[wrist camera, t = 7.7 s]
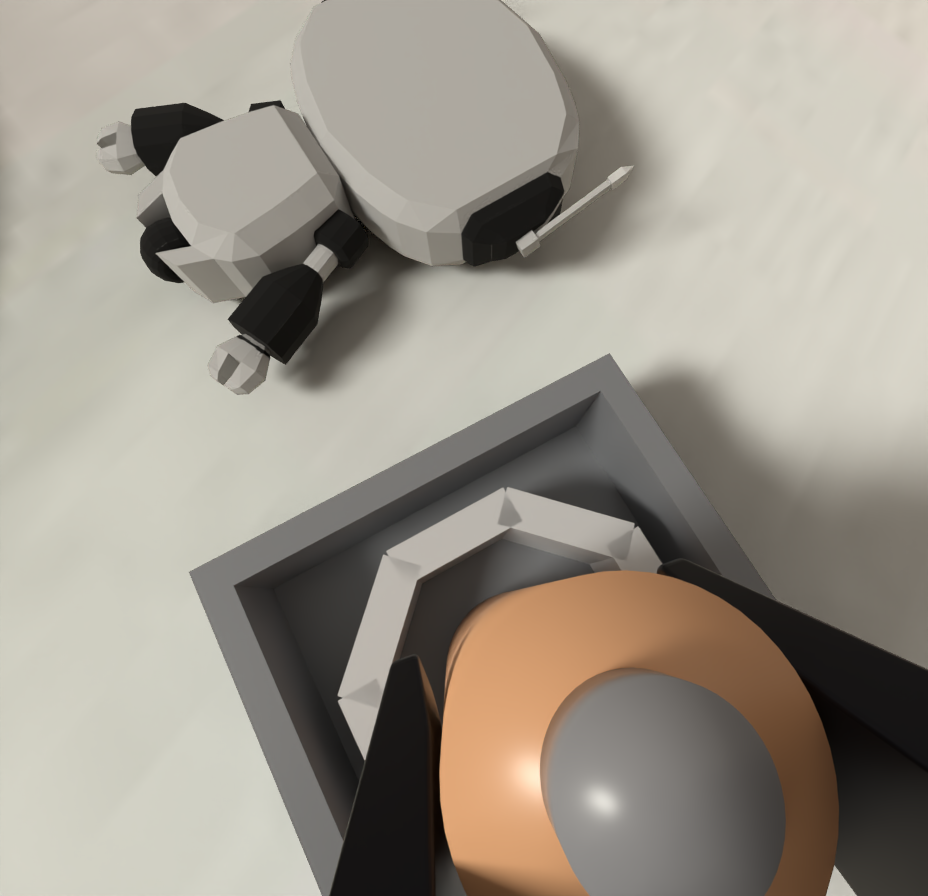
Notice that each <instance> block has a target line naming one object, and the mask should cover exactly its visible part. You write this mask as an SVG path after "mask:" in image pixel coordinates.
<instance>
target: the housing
mask: <svg viewBox="0 0 928 896" xmlns="http://www.w3.org/2000/svg"><path fill="white" fill-rule="evenodd" d="M679 558H682V559H686V560H688V561H691V562H693V563H695V564H697V565H699V566H702V567H704V568H706V569H708V570H710V571H713V572H715V573H717V574H719V575H721V576H724V577H726V578H728V579H730V580H732V581H734V582H737V583H739V584H741V585H743V586H745V587H748V588H750V589H752V590H754V591H756V592H759V593H761V594H763V595H765V596H767V597H770V598H772V599H774V600H776V599H775V598H774V596H773V595H772V593H771V592H770V590H769V589H768V587H767V586H766V584H765V583H764V581H763V580H762V578H761V577H760V575H759V574H758V572H757V571H756V569H755V568H754V566H753V565H752V563H751V562H750V561H749V559H748V558H747V556H746V555H745V553H744V552H743V550H742V549H741V547H740V546H739V544H738V543H737V541H736V540H735V538H734V537H733V535H732V534H731V532H730V531H729V529H728V528H727V526H726V525H725V524H724V522H723V521H722V519H721V518H720V516H719V515H718V513H717V512H716V510H715V509H714V507H713V506H712V504H711V503H710V501H709V500H708V498H707V497H706V495H705V494H704V492H703V491H702V489H701V488H700V487H699V485H698V484H697V482H696V481H695V479H694V478H693V476H692V475H691V473H690V472H689V470H688V469H687V467H686V466H685V464H684V463H683V461H682V460H681V458H680V457H679V455H678V454H677V452H676V451H675V449H674V448H673V447H672V445H671V444H670V442H669V441H668V439H667V438H666V436H665V435H664V433H663V432H662V430H661V429H660V427H659V426H658V424H657V423H656V421H655V420H654V418H653V417H652V415H651V414H650V412H649V411H648V410H647V408H646V407H645V405H644V404H643V402H642V401H641V399H640V398H639V396H638V395H637V393H636V392H635V390H634V389H633V387H632V386H631V384H630V383H629V381H628V380H627V378H626V377H625V375H624V374H623V372H622V371H621V370H620V368H619V367H618V365H617V364H616V362H615V361H614V359H613V358H612V356H611V355H610V353H609V354H607V355H605V356H603V357H602V358H600V359H598V360H596V361H594V362H592V363H590V364H588V365H586V366H584V367H582V368H580V369H578V370H577V371H575V372H573V373H571V374H569V375H567V376H565V377H563V378H561V379H559V380H557V381H555V382H553V383H552V384H550V385H548V386H546V387H544V388H542V389H540V390H538V391H536V392H534V393H532V394H530V395H528V396H527V397H525V398H523V399H521V400H519V401H517V402H515V403H513V404H511V405H509V406H507V407H505V408H503V409H502V410H500V411H498V412H496V413H494V414H492V415H490V416H488V417H486V418H484V419H482V420H480V421H478V422H477V423H475V424H473V425H471V426H469V427H467V428H465V429H463V430H461V431H459V432H457V433H455V434H453V435H452V436H450V437H448V438H446V439H444V440H442V441H440V442H438V443H436V444H434V445H432V446H430V447H428V448H427V449H425V450H423V451H421V452H419V453H417V454H415V455H413V456H411V457H409V458H407V459H405V460H403V461H401V462H400V463H398V464H396V465H394V466H392V467H390V468H388V469H386V470H384V471H382V472H380V473H378V474H376V475H375V476H373V477H371V478H369V479H367V480H365V481H363V482H361V483H359V484H357V485H355V486H353V487H351V488H350V489H348V490H346V491H344V492H342V493H340V494H338V495H336V496H334V497H332V498H330V499H328V500H326V501H325V502H323V503H321V504H319V505H317V506H315V507H313V508H311V509H309V510H307V511H305V512H303V513H301V514H300V515H298V516H296V517H294V518H292V519H290V520H288V521H286V522H284V523H282V524H280V525H278V526H276V527H275V528H273V529H271V530H269V531H267V532H265V533H263V534H261V535H259V536H257V537H255V538H253V539H251V540H250V541H248V542H246V543H244V544H242V545H240V546H238V547H236V548H234V549H232V550H230V551H228V552H226V553H225V554H223V555H221V556H219V557H217V558H215V559H213V560H211V561H209V562H207V563H205V564H203V565H201V566H200V567H198V568H196V569H194V570H192V571H190V572H189V573H190V576H191V578H192V581H193V583H194V586H195V588H196V590H197V593H198V595H199V598H200V600H201V603H202V605H203V607H204V610H205V612H206V615H207V617H208V620H209V622H210V624H211V627H212V629H213V632H214V634H215V637H216V639H217V641H218V644H219V646H220V649H221V651H222V654H223V656H224V658H225V661H226V663H227V666H228V668H229V671H230V673H231V675H232V678H233V680H234V683H235V685H236V688H237V690H238V692H239V695H240V697H241V700H242V702H243V705H244V707H245V709H246V712H247V714H248V717H249V719H250V722H251V724H252V726H253V729H254V731H255V734H256V736H257V739H258V741H259V743H260V746H261V748H262V751H263V753H264V756H265V758H266V760H267V763H268V765H269V768H270V770H271V773H272V775H273V777H274V780H275V782H276V785H277V787H278V790H279V792H280V794H281V797H282V799H283V802H284V804H285V807H286V809H287V811H288V814H289V816H290V819H291V821H292V824H293V826H294V828H295V831H296V833H297V836H298V838H299V841H300V843H301V845H302V848H303V850H304V853H305V855H306V858H307V860H308V862H309V865H310V867H311V870H312V872H313V875H314V877H315V879H316V882H317V884H318V887H319V889H320V892H321V894H322V896H329V893H330V889H331V885H332V882H333V878H334V874H335V870H336V867H337V863H338V859H339V855H340V852H341V848H342V844H343V841H344V837H345V833H346V829H347V826H348V822H349V818H350V814H351V811H352V807H353V803H354V800H355V796H356V792H357V788H358V785H359V781H360V777H361V773H362V770H363V766H364V762H365V759H366V755H367V751H368V747H369V744H370V740H371V736H372V732H373V729H374V725H375V721H376V718H377V714H378V710H379V706H380V703H381V699H382V695H383V691H384V688H385V684H386V680H387V677H388V673H389V669H390V666H391V664H392V663H393V662H394V661H396V660H399V659H401V658H404V657H407V656H410V655H413V654H415V655H418V656H419V658H420V660H421V663H422V665H423V668H424V670H425V673H426V676H427V678H428V681H429V683H430V686H431V689H432V692H433V695H434V698H435V702H436V705H437V709H438V713H439V716H440V720H441V724H442V725H443V709H444V694H445V678H446V664H447V655H448V650H449V646H450V643H451V640H452V637H453V635H454V633H455V631H456V629H457V627H458V626H459V624H460V623H461V621H462V620H463V619H464V617H465V616H466V615H467V614H468V613H469V612H470V611H471V610H472V609H473V608H474V607H475V606H477V605H478V604H480V603H481V602H483V601H484V600H486V599H488V598H490V597H492V596H495V595H498V594H501V593H505V592H510V591H514V590H518V589H523V588H527V587H532V586H536V585H541V584H545V583H550V582H554V581H559V580H563V579H568V578H572V577H577V576H581V575H587V574H592V573H597V572H603V571H622V570H629V571H640V572H651V573H655V574H657V568H658V567H659V566H660V565H661V564H664V563H667V562H670V561H672V560H675V559H679Z"/></svg>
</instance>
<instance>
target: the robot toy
mask: <svg viewBox="0 0 928 896" xmlns="http://www.w3.org/2000/svg"><path fill="white" fill-rule="evenodd" d="M290 67H291V78H292V82H293V86H294V91H295V95H296V99H297V103H298V105H299V108H300V110H301V113H302V115H303V118H304V121H305V123H306V125H305V123H304V122H303V120H302V119H301V117H300V116H299V114H297V113H294V112H292V111H289V110H286V109H285V108H284V106H283V104H282V102H281V100H280V101H272V102H264V103H256V104H251V106H250V109H249V112H248V113H245V114H242V115H239V116H236V117H233V118H230V119H228V120H225V121H224V120H222V119H220V118H218V117H216V116H214V115H212V114H210V113H208V112H206V111H203V110H201V109H198V108H196V107H194V106H191V105H189V104H187V103H180V104H172V105H164V106H156V107H148V108H140V109H135V111H134V113H133V115H132V117H131V125H128V124H125V123H122V122H116V123H114V124H111V125H108V126H106V127H103V128H101V130H100V132H99V134H98V136H97V144H98V145H99V146H100V147H101V148H102V149H99V150H96V158H97V160H98V161H99V163H100V164H101V166H102V167H103V168H104V169H105V170H107V171H109V172H111V173H116V174H126V175H132V174H133V173H135V172H136V171H138V170H139V169H141V168H142V167H144V166H146V167H147V169H148V170H149V171H151V172H152V173H153V174H154V175H155V176H156V178H155V179H154V180H153V181H152V182H151V183H150V184H149V185H148V186H147V187H145V188H144V189H143V190H142V191H141V192H140V193H139V195H138V208H137V219H138V220H139V221H140V222H141V223H142V224H143V225H144V226H145V227H146V229H145V231H144V233H143V235H142V236H141V239H140V253H141V256H142V259H143V260H144V262H145V263H146V265H147V267H148V268H149V269H150V271H151V272H152V273H153V274H155V275H156V276H158V277H160V278H161V279H163V280H165V281H170V282H175V283H183V282H185V283H186V284H187V285H188V286H189V287H190V288H191V289H192V290H193V291H194V292H196V293H197V294H199V295H201V296H202V297H204V298H206V299H207V300H209V301H211V302H213V303H216V302H222V301H227V300H232V299H237V298H242V297H245V299H244V300H243V301H242V302H241V304H240V305H239V306H238V307H237V308H236V310H235V311H234V312H233V313H232V315H231V316H230V317H229V318H228V320H229V321H230V323H231V324H232V325H233V326H234V328H235V329H237V330H238V331H239V332H240V333H241V334H242V335H238V336H236V337H234V338H232V339H230V340H228V341H226V342H224V343H222V344H220V345H218V346H217V347H216V349H215V351H214V353H213V355H212V357H211V359H210V361H209V363H208V369H209V373H210V376H211V377H212V378H214V379H215V380H216V381H218V382H219V383H221V384H222V385H224V384H225V383H226V382H227V383H226V384H225V385H224V386H226V387H227V388H228V389H230V390H231V391H233V392H234V393H236V394H237V395H240V394H250V393H251V392H252V391H253V390H254V389H256V388H257V387H258V386H259V385H260V384H262V383H263V382H264V381H265V379H266V375H267V370H268V366H269V361H270V356H272V357H273V358H275V359H277V360H278V361H280V362H282V363H283V364H285V365H286V364H287V362H288V361H289V360H290V359H291V357H292V356H293V355H294V353H295V352H296V351H297V350H298V348H299V347H300V346H301V344H302V343H303V342H304V341H305V339H306V338H307V337H308V335H309V334H310V333H311V332H312V330H313V329H314V328H315V326H316V325H317V323H318V317H319V311H320V306H321V300H322V291H323V282H324V281H325V280H326V279H327V277H328V276H329V275H330V273H331V272H332V271H333V270H334V268H335V267H336V266H337V265H339V266H341V267H345V268H351V267H352V266H353V265H354V263H355V262H356V261H357V259H358V258H359V257H360V256H361V254H362V253H363V252H364V250H365V249H366V248H367V247H368V237H367V235H366V233H365V231H364V229H363V228H362V226H361V224H360V223H359V222H357V221H356V220H355V219H354V216H353V213H354V214H355V215H356V216H357V217H358V218H359V219H360V221H361V222H362V223H363V224H364V225H365V226H366V227H367V228H368V229H369V230H370V231H371V232H372V233H374V234H375V235H376V236H377V237H378V238H380V239H381V240H382V241H383V242H385V243H386V244H387V245H388V246H389V247H391V248H392V249H394V250H395V251H397V252H399V253H400V254H402V255H403V256H405V257H408V258H411V259H414V260H416V261H419V262H422V263H425V264H428V265H430V266H444V265H461V264H463V263H465V262H467V263H469V264H470V265H472V266H477V265H480V264H484V263H487V262H490V261H495V260H501V259H506V258H508V257H509V256H511V255H513V254H515V253H517V252H518V251H520V253H521V254H522V255H523V257H524V258H525V257H527V256H528V255H529V254H531V253H532V252H533V251H535V250H536V249H537V248H539V247H540V243H539V242H540V241H541V240H542V239H544V238H545V237H546V236H548V235H549V234H551V233H552V232H553V231H555V230H556V229H557V228H559V227H560V226H561V225H563V224H564V223H565V222H567V221H568V220H570V219H571V218H572V217H574V216H575V215H576V214H578V213H579V212H580V211H582V210H583V209H584V208H586V207H587V206H589V205H590V204H591V203H593V202H594V201H595V200H597V199H598V198H599V197H601V196H602V195H603V194H605V193H606V192H608V191H609V190H610V189H612V190H614V189H615V188H616V187H618V186H619V185H620V184H622V183H623V182H624V181H626V179H627V178H628V176H629V174H630V172H631V171H632V169H633V167H634V166H624V167H620V168H619V169H617V170H616V171H615V172H613V173H612V174H611V175H609V176H608V177H607V180H606V181H605V182H603V183H602V184H601V185H599V186H598V187H597V188H595V189H594V190H592V191H591V192H590V193H588V194H587V195H586V196H584V197H583V198H582V199H580V200H579V201H578V202H576V203H575V204H574V205H572V206H571V207H570V208H568V209H567V210H566V211H564V212H563V213H561V214H560V211H561V206H562V201H563V197H564V196H565V194H566V193H567V192H568V190H569V189H570V185H571V181H572V176H573V171H574V166H575V162H576V157H577V152H578V146H579V116H578V112H577V108H576V104H575V102H574V99H573V97H572V94H571V92H570V89H569V87H568V84H567V81H566V79H565V77H564V76H563V74H562V72H561V70H560V69H559V67H558V65H557V63H556V62H555V60H554V58H553V56H552V55H551V53H550V51H549V49H548V48H547V46H546V44H545V42H544V41H543V39H542V37H541V35H540V34H539V33H538V32H537V31H536V30H535V29H533V28H532V27H531V26H530V25H529V24H528V23H527V22H525V21H524V20H523V19H522V18H521V17H520V16H518V15H517V14H516V13H515V12H514V11H513V10H512V9H510V8H509V7H508V6H507V5H506V4H505V3H504V2H502V1H501V0H324V1H322V2H321V3H320V4H318V5H316V6H314V7H313V9H312V10H311V12H310V14H309V16H308V17H307V19H306V21H305V22H304V24H303V26H302V28H301V29H300V31H299V33H298V35H297V36H296V38H295V41H294V46H293V52H292V57H291V62H290ZM352 212H353V213H352ZM229 378H230V379H229ZM228 379H229V380H228ZM227 380H228V381H227Z"/></svg>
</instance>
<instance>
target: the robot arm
mask: <svg viewBox="0 0 928 896" xmlns="http://www.w3.org/2000/svg"><path fill="white" fill-rule="evenodd" d="M657 574H660V575H664V576H669V577H673V578H676V579H679V580H682V581H685V582H687V583H690V584H693V585H696V586H698V587H700V588H702V589H704V590H706V591H708V592H710V593H712V594H714V595H716V596H718V597H720V598H721V599H723V600H724V601H726V602H727V603H729V604H730V605H732V606H733V607H735V608H736V609H738V610H739V611H741V612H742V613H743V614H744V615H745V616H746V617H748V618H749V619H750V620H751V621H752V622H753V623H755V624H756V625H757V626H758V627H759V628H761V630H762V631H763V632H764V633H765V634H766V635H767V636H768V637H769V638H770V639H771V640H772V641H773V642H774V643H775V644H776V646H777V647H778V648H779V649H780V650H781V652H782V653H783V654H784V656H785V657H786V658H787V660H788V661H789V662H790V664H791V665H792V666H793V668H794V669H795V670H796V672H797V674H798V676H799V677H800V679H801V681H802V682H803V684H804V686H805V687H806V689H807V691H808V693H809V694H810V696H811V699H812V701H813V703H814V705H815V708H816V710H817V712H818V714H819V716H820V719H821V721H822V724H823V727H824V730H825V733H826V736H827V740H828V743H829V746H830V749H831V754H832V759H833V764H834V768H835V773H836V780H837V790H838V801H839V826H838V841H837V848H836V855H835V862H834V865H835V866H836V868H837V869H838V870H839V872H840V873H841V875H842V876H843V877H844V879H845V880H846V881H847V883H848V884H849V885H850V887H851V888H852V889H853V891H854V892H855V894H856V895H857V896H928V669H925V668H923V667H921V666H919V665H917V664H914V663H912V662H910V661H908V660H906V659H904V658H901V657H899V656H897V655H895V654H893V653H890V652H888V651H886V650H884V649H882V648H879V647H877V646H875V645H873V644H871V643H868V642H866V641H864V640H862V639H860V638H857V637H855V636H853V635H851V634H849V633H846V632H844V631H842V630H840V629H838V628H835V627H833V626H831V625H829V624H827V623H824V622H822V621H820V620H818V619H816V618H814V617H811V616H809V615H807V614H805V613H803V612H800V611H798V610H796V609H794V608H792V607H789V606H787V605H785V604H783V603H781V602H778V601H776V600H774V599H772V598H770V597H767V596H765V595H763V594H761V593H759V592H756V591H754V590H752V589H750V588H748V587H745V586H743V585H741V584H739V583H737V582H734V581H732V580H730V579H728V578H726V577H724V576H721V575H719V574H717V573H715V572H713V571H710V570H708V569H706V568H704V567H702V566H699V565H697V564H695V563H693V562H691V561H688V560H686V559H682V558H679V559H675V560H672V561H670V562H667V563H664V564H661V565H660V566H659V567H658V568H657ZM441 741H442V724H441V720H440V716H439V713H438V709H437V705H436V702H435V698H434V695H433V692H432V689H431V686H430V683H429V681H428V678H427V676H426V673H425V670H424V668H423V665H422V663H421V660H420V658H419V656H418V655H415V654H413V655H410V656H407V657H404V658H401V659H399V660H396V661H394V662H393V663H392V664H391V666H390V669H389V673H388V677H387V680H386V684H385V688H384V691H383V695H382V699H381V703H380V706H379V710H378V714H377V718H376V721H375V725H374V729H373V732H372V736H371V740H370V744H369V747H368V751H367V755H366V759H365V762H364V766H363V770H362V773H361V777H360V781H359V785H358V788H357V792H356V796H355V800H354V803H353V807H352V811H351V814H350V818H349V822H348V826H347V829H346V833H345V837H344V841H343V844H342V848H341V852H340V855H339V859H338V863H337V867H336V870H335V874H334V878H333V882H332V885H331V889H330V893H329V896H467V894H466V892H465V890H464V888H463V886H462V883H461V881H460V878H459V876H458V873H457V871H456V868H455V866H454V863H453V860H452V856H451V853H450V849H449V845H448V841H447V838H446V834H445V829H444V822H443V816H442V809H441V802H440V756H441Z"/></svg>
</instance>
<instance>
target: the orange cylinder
mask: <svg viewBox="0 0 928 896" xmlns="http://www.w3.org/2000/svg"><path fill="white" fill-rule="evenodd" d="M440 802H441V809H442V816H443V822H444V829H445V834H446V838H447V841H448V845H449V849H450V853H451V856H452V860H453V863H454V866H455V868H456V871H457V873H458V876H459V878H460V881H461V883H462V886H463V888H464V890H465V892H466V894H467V896H826V893H827V889H828V886H829V882H830V878H831V875H832V871H833V867H834V862H835V855H836V848H837V841H838V826H839V801H838V790H837V780H836V773H835V768H834V764H833V759H832V754H831V749H830V746H829V743H828V740H827V736H826V733H825V730H824V727H823V724H822V721H821V719H820V716H819V714H818V712H817V710H816V708H815V705H814V703H813V701H812V699H811V696H810V694H809V693H808V691H807V689H806V687H805V686H804V684H803V682H802V681H801V679H800V677H799V676H798V674H797V672H796V670H795V669H794V668H793V666H792V665H791V664H790V662H789V661H788V660H787V658H786V657H785V656H784V654H783V653H782V652H781V650H780V649H779V648H778V647H777V646H776V644H775V643H774V642H773V641H772V640H771V639H770V638H769V637H768V636H767V635H766V634H765V633H764V632H763V631H762V630H761V628H759V627H758V626H757V625H756V624H755V623H753V622H752V621H751V620H750V619H749V618H748V617H746V616H745V615H744V614H743V613H742V612H741V611H739V610H738V609H736V608H735V607H733V606H732V605H730V604H729V603H727V602H726V601H724V600H723V599H721V598H720V597H718V596H716V595H714V594H712V593H710V592H708V591H706V590H704V589H702V588H700V587H698V586H696V585H693V584H690V583H687V582H685V581H682V580H679V579H676V578H673V577H669V576H664V575H660V574H655V573H651V572H640V571H629V570H622V571H603V572H597V573H592V574H587V575H581V576H577V577H572V578H568V579H563V580H559V581H554V582H550V583H545V584H541V585H536V586H532V587H527V588H523V589H518V590H514V591H510V592H505V593H501V594H498V595H495V596H492V597H490V598H488V599H486V600H484V601H483V602H481V603H480V604H478V605H477V606H475V607H474V608H473V609H472V610H471V611H470V612H469V613H468V614H467V615H466V616H465V617H464V619H463V620H462V621H461V623H460V624H459V626H458V627H457V629H456V631H455V633H454V635H453V637H452V640H451V643H450V646H449V650H448V655H447V664H446V678H445V694H444V709H443V725H442V741H441V756H440Z"/></svg>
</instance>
